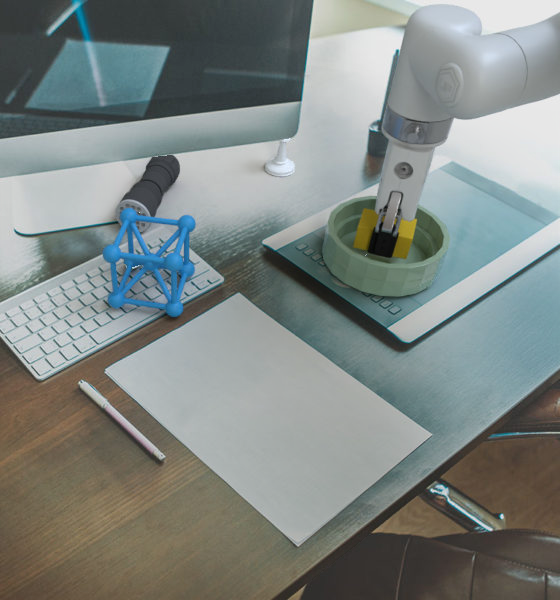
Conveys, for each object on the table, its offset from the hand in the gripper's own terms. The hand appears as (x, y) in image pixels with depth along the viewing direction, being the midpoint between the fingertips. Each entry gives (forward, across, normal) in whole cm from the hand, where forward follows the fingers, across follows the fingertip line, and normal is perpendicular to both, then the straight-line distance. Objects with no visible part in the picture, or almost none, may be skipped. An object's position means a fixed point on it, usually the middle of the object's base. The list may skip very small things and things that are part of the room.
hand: (383, 241), depth 88 cm
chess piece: (+4, +18, +19) cm, 26 cm away
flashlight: (+4, +1, +35) cm, 35 cm away
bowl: (+3, 0, 0) cm, 3 cm away
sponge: (0, 0, 0) cm, 0 cm away
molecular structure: (+4, -17, +27) cm, 32 cm away
